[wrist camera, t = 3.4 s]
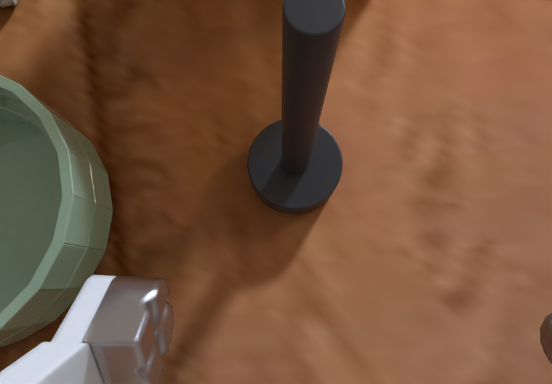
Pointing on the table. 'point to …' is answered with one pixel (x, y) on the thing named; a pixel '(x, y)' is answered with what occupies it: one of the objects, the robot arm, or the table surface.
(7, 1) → the washcloth
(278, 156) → the dark post stand
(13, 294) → the bowl
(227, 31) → the table surface
